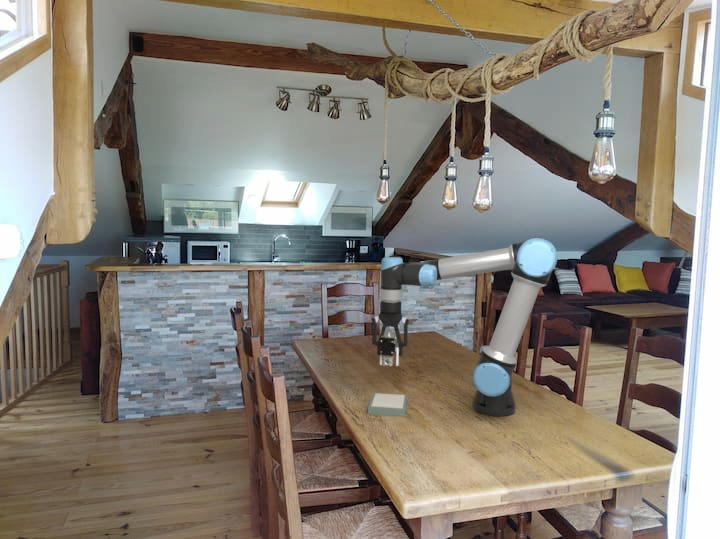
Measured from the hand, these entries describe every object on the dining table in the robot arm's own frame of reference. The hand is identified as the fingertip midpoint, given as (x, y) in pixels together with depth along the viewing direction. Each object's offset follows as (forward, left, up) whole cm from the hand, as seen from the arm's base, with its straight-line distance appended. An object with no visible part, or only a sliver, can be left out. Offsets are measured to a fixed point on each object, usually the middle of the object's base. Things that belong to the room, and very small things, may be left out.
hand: (389, 364), depth 186 cm
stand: (0, 0, -16) cm, 16 cm away
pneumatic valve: (0, 0, 0) cm, 0 cm away
